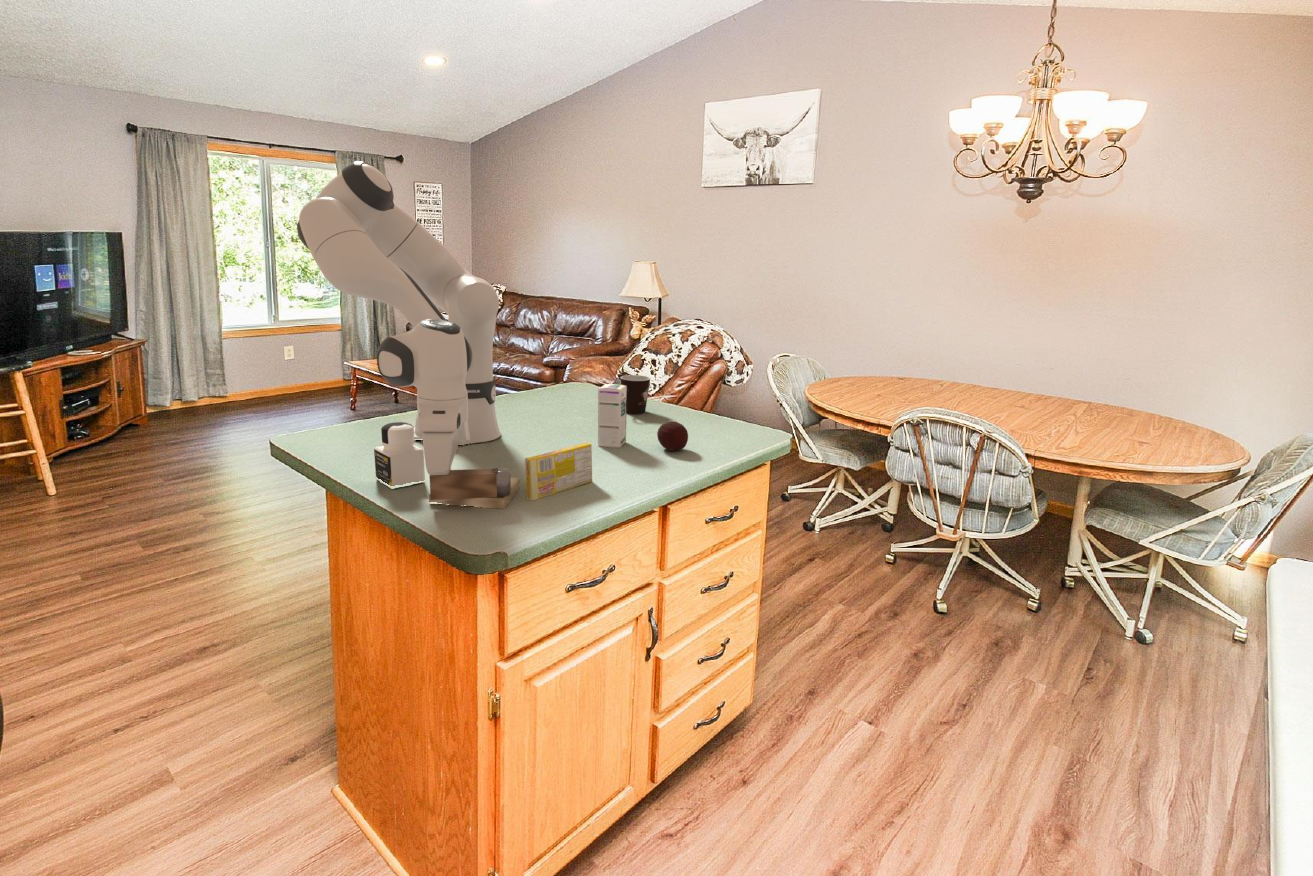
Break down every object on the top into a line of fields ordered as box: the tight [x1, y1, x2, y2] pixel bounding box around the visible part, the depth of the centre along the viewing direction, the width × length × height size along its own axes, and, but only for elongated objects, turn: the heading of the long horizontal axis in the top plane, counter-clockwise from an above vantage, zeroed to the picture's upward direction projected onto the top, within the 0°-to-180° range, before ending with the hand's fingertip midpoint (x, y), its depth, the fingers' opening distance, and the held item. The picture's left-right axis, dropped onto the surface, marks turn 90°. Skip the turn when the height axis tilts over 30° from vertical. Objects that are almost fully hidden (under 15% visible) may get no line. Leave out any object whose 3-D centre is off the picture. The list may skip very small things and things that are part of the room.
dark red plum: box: [656, 421, 689, 452], centre depth 176 cm, size 7×8×7 cm
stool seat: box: [428, 477, 521, 510], centre depth 141 cm, size 14×12×2 cm
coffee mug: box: [620, 374, 651, 415], centre depth 211 cm, size 12×9×10 cm
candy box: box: [524, 442, 593, 501], centre depth 145 cm, size 16×2×8 cm, turn 139°
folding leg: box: [429, 467, 512, 500], centre depth 134 cm, size 14×4×4 cm, turn 104°
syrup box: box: [597, 383, 627, 449], centre depth 177 cm, size 6×6×14 cm
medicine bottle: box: [373, 421, 426, 486], centre depth 145 cm, size 7×7×12 cm
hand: (444, 482), depth 137 cm, fingers closed
